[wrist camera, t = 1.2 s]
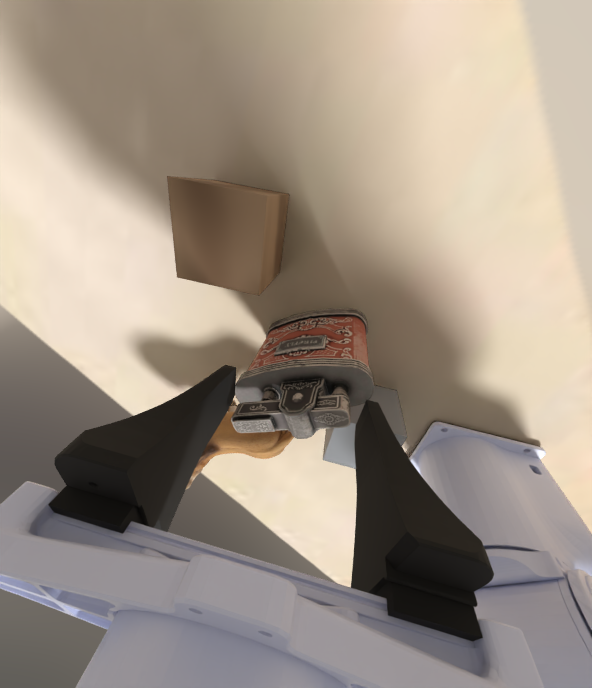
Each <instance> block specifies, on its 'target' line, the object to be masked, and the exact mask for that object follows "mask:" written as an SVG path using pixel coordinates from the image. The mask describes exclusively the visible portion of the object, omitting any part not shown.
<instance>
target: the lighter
mask: <svg viewBox="0 0 592 688" xmlns="http://www.w3.org/2000/svg"><path fill="white" fill-rule="evenodd" d="M367 333H368V326H367V320H366V318H365V316H364V315H363V313H362V312H360V311H358V310H356V309H325V310H316V311H309V312H305V313H301V314H297V315H293V316H290V317H288V318H285V319H283V320H280V321H277V322H275V323H273V324H272V325H271V327H270V328H269V330H268V332H267V334H266V340H265V341H264V343H263V345H262V347H261V348H260V350H259V352H258V353H257V355H256V357H255V359H254V360H253V362H252V364H251V365H250V367H249V369H248V371H246V372H244V373H243V374H242V375H241V377H240V378H239V380H238V381H237V383H236V385H235V395H236V398H237V399H238V401H239V402H240V404H238V406H237V408H236V410H235V412H234V414H233V416H232V417H231V422H232V424H233V427H234V428H235V430H236V431H237V432H239V433H253V432H275V431H276V430H288V431H290V432H291V434H292V436H293V437H295V438H297V439H304V438H309V437H311V436H312V435H314V433H315V432H316V431H318V430H319V429H324V428H343V427H347V426H349V425H350V407H353V406H358V405H361V404H364V403H365V402H366V400H369V399H370V398H371V397H372V395H373V393H374V380H373V375H372V372H371V370H370V368H369V363H368V353H367V342H366V335H367Z"/></svg>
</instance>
